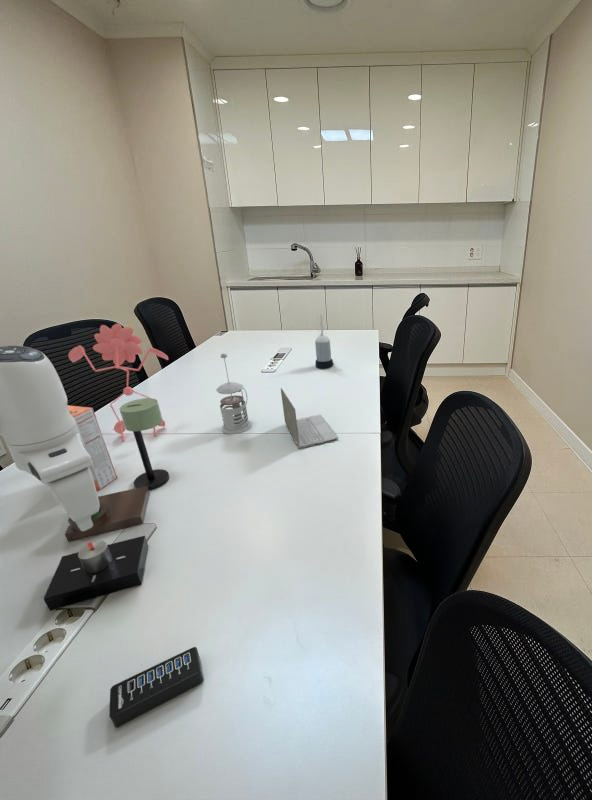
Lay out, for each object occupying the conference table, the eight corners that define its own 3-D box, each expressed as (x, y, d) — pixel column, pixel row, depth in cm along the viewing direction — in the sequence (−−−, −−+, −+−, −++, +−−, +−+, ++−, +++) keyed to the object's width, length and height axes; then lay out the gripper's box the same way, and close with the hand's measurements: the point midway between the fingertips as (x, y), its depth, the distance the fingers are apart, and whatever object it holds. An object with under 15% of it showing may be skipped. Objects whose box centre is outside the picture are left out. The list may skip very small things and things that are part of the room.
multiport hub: (204, 682, 55) (200, 671, 54) (114, 729, 50) (108, 718, 49) (199, 655, 58) (196, 645, 57) (115, 696, 53) (110, 686, 52)
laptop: (338, 439, 117) (336, 400, 112) (298, 449, 113) (293, 409, 108) (321, 416, 132) (317, 380, 127) (284, 424, 128) (280, 387, 123)
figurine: (184, 433, 124) (156, 324, 109) (91, 447, 117) (49, 333, 103) (189, 413, 137) (165, 314, 123) (106, 425, 130) (71, 322, 116)
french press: (214, 431, 124) (198, 357, 114) (236, 416, 134) (223, 346, 124) (241, 435, 121) (227, 359, 111) (261, 419, 131) (250, 348, 121)
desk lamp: (132, 494, 95) (106, 416, 86) (137, 477, 102) (113, 402, 93) (176, 484, 98) (155, 408, 90) (178, 468, 105) (159, 396, 96)
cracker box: (54, 485, 99) (23, 412, 91) (76, 472, 105) (48, 401, 96) (99, 492, 96) (70, 417, 88) (118, 478, 102) (93, 406, 93)
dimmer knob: (115, 563, 71) (109, 547, 70) (87, 577, 68) (80, 561, 67) (108, 551, 74) (102, 535, 73) (81, 564, 71) (74, 548, 70)
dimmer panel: (49, 611, 66) (42, 598, 65) (67, 567, 74) (61, 555, 73) (141, 584, 70) (137, 571, 69) (148, 546, 79) (144, 534, 78)
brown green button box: (67, 544, 80) (60, 529, 79) (83, 507, 91) (78, 493, 89) (142, 525, 85) (138, 510, 83) (150, 492, 95) (145, 479, 94)
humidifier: (336, 366, 180) (332, 312, 170) (319, 370, 177) (315, 315, 166) (329, 362, 187) (325, 310, 177) (313, 365, 183) (308, 312, 173)
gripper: (6, 435, 65) (36, 501, 71) (43, 479, 54) (75, 554, 59) (52, 421, 70) (76, 484, 75) (94, 459, 58) (119, 530, 64)
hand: (76, 515), depth 67 cm, fingers open, 8 cm apart
